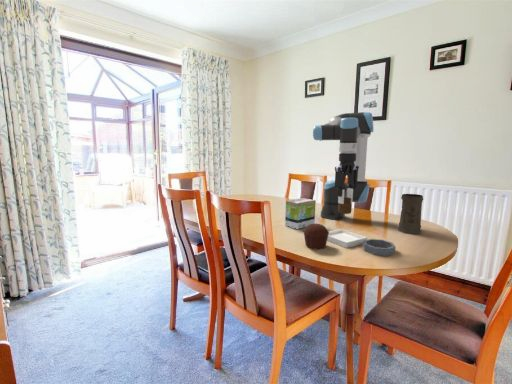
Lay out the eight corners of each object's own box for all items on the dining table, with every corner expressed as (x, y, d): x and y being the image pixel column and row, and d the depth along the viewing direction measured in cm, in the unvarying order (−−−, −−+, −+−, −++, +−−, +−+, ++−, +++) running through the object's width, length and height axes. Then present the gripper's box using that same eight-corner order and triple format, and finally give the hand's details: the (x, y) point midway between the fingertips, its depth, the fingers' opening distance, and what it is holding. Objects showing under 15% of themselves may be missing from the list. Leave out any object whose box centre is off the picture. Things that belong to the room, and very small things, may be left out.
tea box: (298, 229, 150) (298, 203, 148) (284, 225, 157) (285, 200, 155) (315, 224, 160) (316, 199, 157) (301, 221, 167) (302, 197, 165)
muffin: (313, 240, 133) (314, 219, 132) (333, 246, 125) (334, 224, 123) (297, 245, 125) (297, 224, 124) (317, 252, 117) (318, 230, 116)
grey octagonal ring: (357, 248, 122) (358, 242, 121) (375, 243, 128) (375, 237, 127) (382, 257, 112) (382, 250, 111) (400, 252, 118) (400, 245, 117)
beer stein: (424, 235, 140) (427, 195, 138) (401, 233, 142) (404, 195, 140) (413, 228, 155) (416, 193, 153) (393, 227, 157) (395, 192, 155)
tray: (320, 238, 136) (320, 233, 136) (340, 233, 143) (340, 228, 143) (346, 248, 122) (346, 242, 122) (367, 242, 129) (367, 237, 129)
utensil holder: (344, 214, 126) (345, 188, 124) (335, 211, 132) (336, 187, 130) (354, 213, 129) (355, 188, 127) (344, 210, 135) (345, 186, 133)
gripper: (340, 153, 118) (337, 206, 122) (367, 152, 127) (364, 202, 131) (327, 152, 125) (325, 203, 128) (354, 152, 134) (352, 199, 138)
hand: (345, 202), depth 130 cm, fingers closed on utensil holder, 5 cm apart
